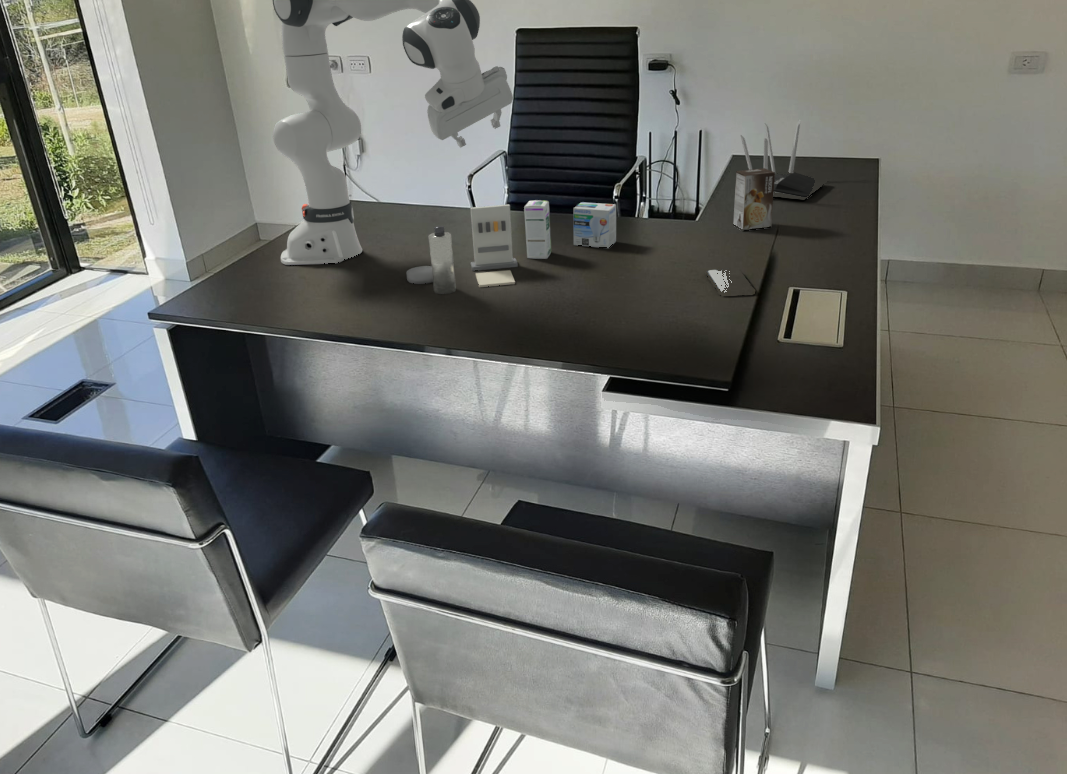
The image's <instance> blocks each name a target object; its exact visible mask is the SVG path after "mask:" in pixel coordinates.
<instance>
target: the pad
mask: <svg viewBox="0 0 1067 774" xmlns="http://www.w3.org/2000/svg"><path fill="white" fill-rule="evenodd" d="M475 278H476V281H477V284H479V285H478V287H479V288H488V286H489V287H497V286H499V285H500V286H507V285H510V286H511V285H516V281H515V278H514V276H513V273H512V271H511V270H510V269H509V270H497V271H487V272H486V271H485V272H475Z"/></svg>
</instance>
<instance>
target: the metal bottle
mask: <svg viewBox="0 0 1067 774" xmlns="http://www.w3.org/2000/svg"><path fill="white" fill-rule="evenodd" d="M433 231H434V232H432V233H430V234H428V244H429V253H430V255H429V256H430V264H431V265H430V266H432V275H433V282H432V284H433V291H434V293H435V294H439V295H448V294H452V293H455V292H456V290H457V285H456V275H455V265H454V263H455V262H454V252H453V243H452V242H453V241H452V233H451V232H448V231H445V226H444V225H435V226H433Z"/></svg>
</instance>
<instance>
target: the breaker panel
mask: <svg viewBox="0 0 1067 774" xmlns="http://www.w3.org/2000/svg"><path fill="white" fill-rule="evenodd" d="M470 220H471V229H472V230H471V231H472V232H471V233H472V245H473V256H474V257H473V258H474V259H473V260H474V261H471V262H470V268H471V271H472V272H476V271H475V270H478V271H485V270H497V269H507V268H519V264H518V261H517V259H516V257H513V240H512V222H511V220H512V219H511V205H510V204H497V205H487V206H486V205H485V206H476V207H475V206H473V207H470Z"/></svg>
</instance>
